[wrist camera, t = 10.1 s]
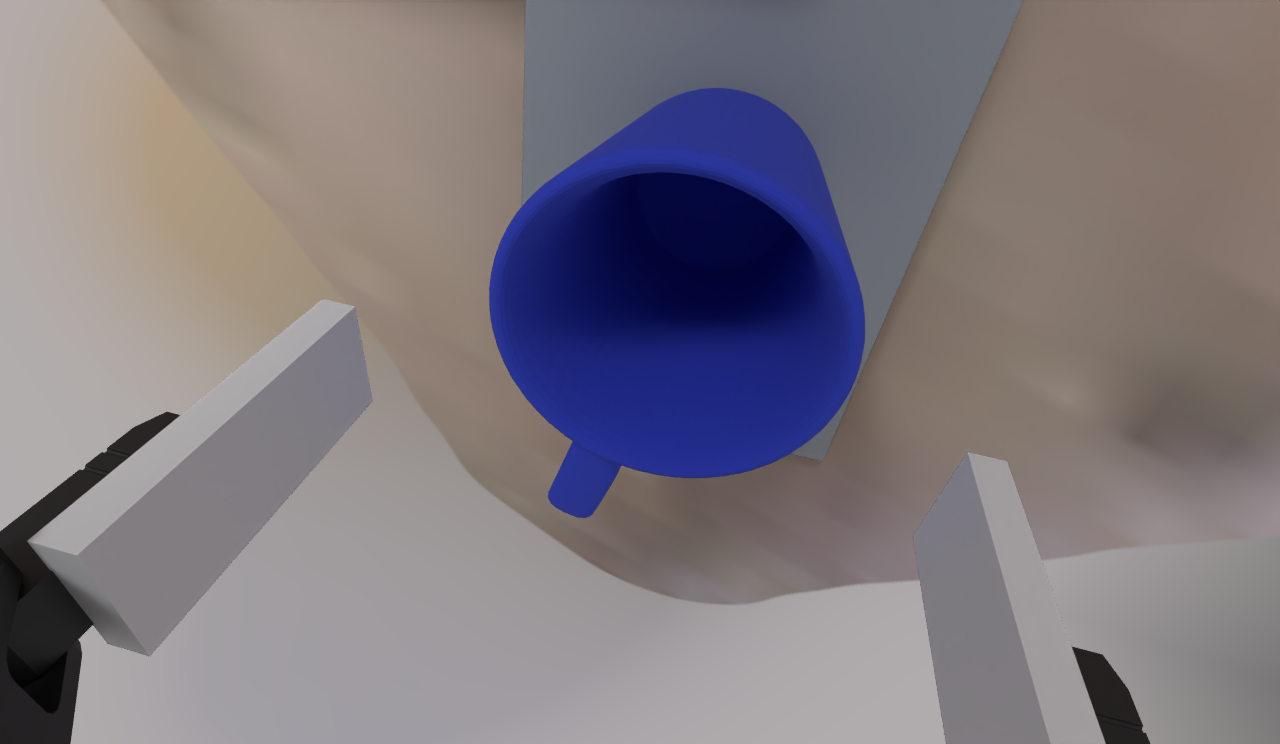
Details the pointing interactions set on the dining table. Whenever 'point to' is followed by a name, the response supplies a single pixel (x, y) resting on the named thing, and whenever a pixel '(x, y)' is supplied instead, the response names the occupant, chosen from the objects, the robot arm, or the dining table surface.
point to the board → (781, 99)
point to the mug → (681, 297)
